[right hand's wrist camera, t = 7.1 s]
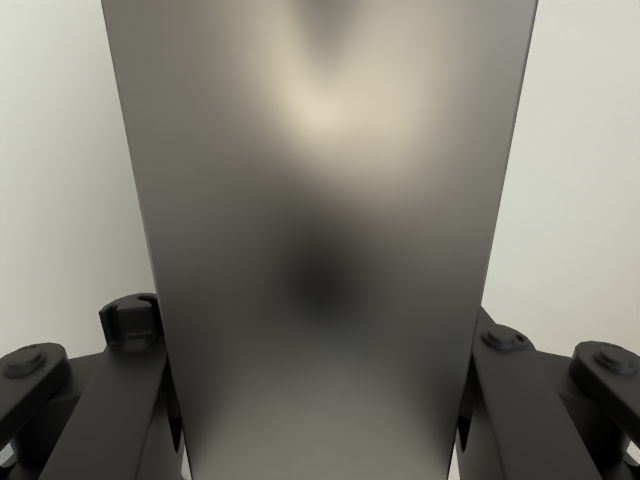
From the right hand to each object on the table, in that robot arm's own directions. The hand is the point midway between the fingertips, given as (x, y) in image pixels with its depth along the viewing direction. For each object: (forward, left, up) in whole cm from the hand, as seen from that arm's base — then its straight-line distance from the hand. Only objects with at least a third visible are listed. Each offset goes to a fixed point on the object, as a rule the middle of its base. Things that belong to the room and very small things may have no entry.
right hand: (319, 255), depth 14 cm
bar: (0, +9, -1) cm, 9 cm away
